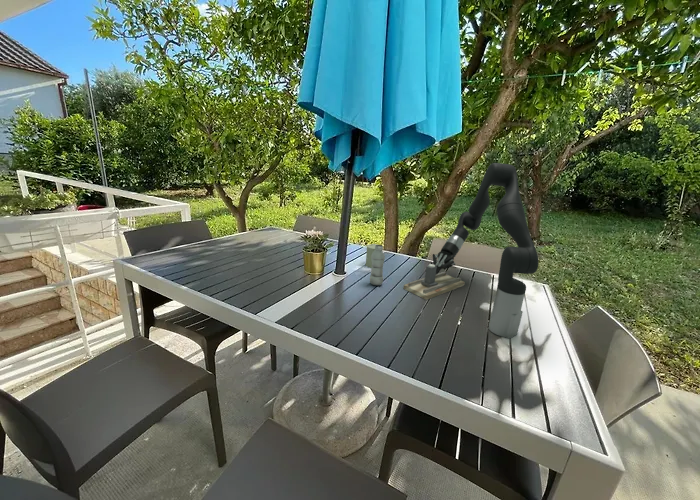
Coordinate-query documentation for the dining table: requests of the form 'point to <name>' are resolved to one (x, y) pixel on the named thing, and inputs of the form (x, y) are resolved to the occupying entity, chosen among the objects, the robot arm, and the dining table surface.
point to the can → (369, 254)
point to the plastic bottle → (377, 265)
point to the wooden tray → (443, 286)
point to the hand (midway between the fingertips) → (434, 273)
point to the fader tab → (430, 276)
